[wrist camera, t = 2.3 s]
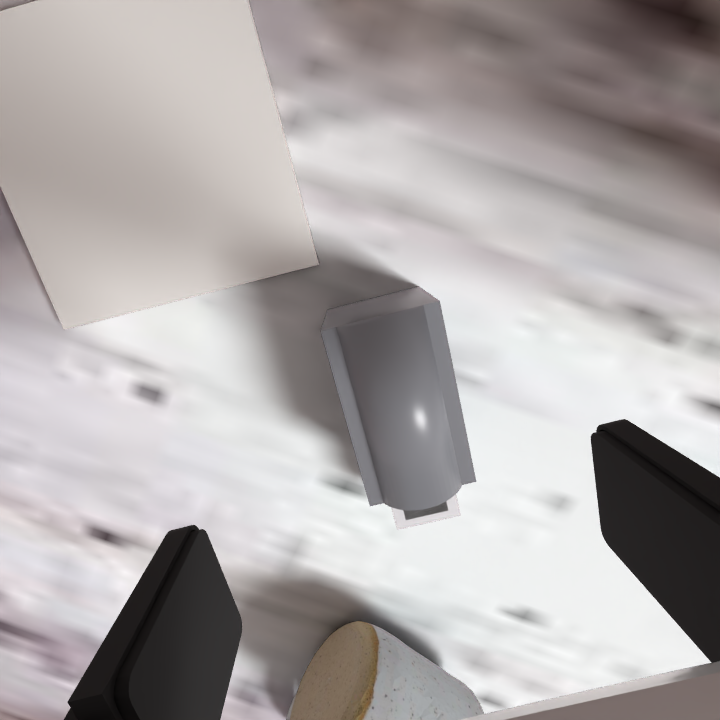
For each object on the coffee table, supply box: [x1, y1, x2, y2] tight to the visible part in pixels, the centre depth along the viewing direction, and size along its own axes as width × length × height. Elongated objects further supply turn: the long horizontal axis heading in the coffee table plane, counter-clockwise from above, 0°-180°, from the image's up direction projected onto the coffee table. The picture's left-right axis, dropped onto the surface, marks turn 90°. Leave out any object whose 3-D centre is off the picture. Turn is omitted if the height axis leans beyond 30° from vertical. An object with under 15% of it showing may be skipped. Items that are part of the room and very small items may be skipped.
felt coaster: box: [0, 0, 319, 330], centre depth 18 cm, size 12×12×1 cm
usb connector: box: [321, 286, 476, 530], centre depth 19 cm, size 4×10×6 cm, turn 14°
